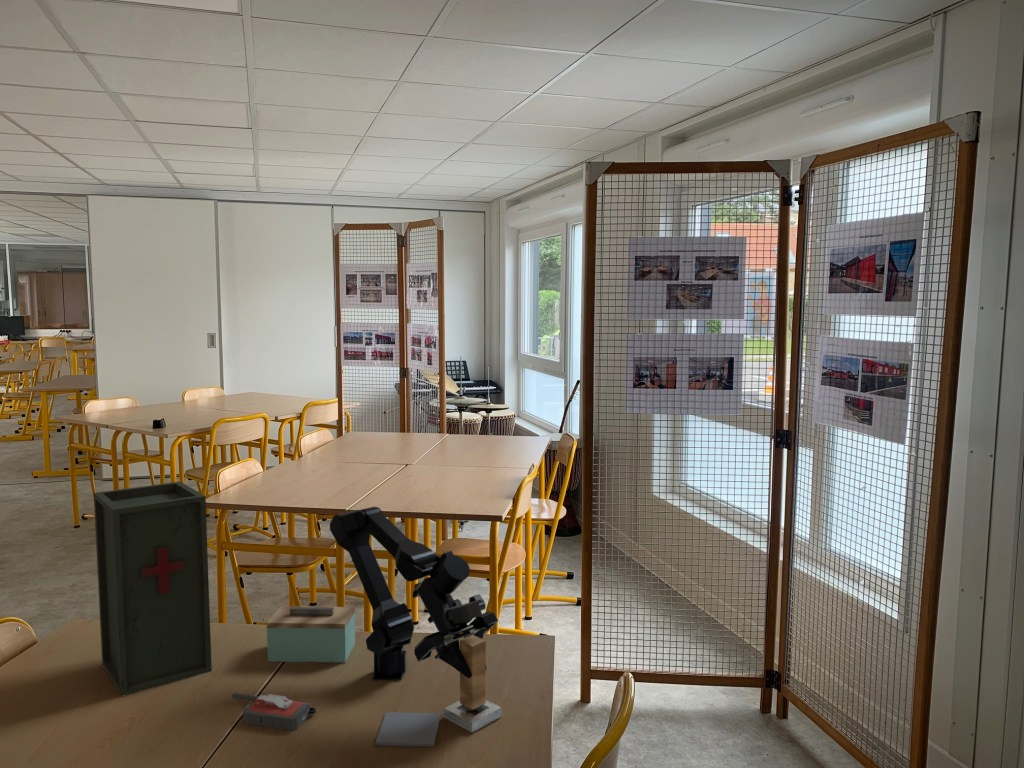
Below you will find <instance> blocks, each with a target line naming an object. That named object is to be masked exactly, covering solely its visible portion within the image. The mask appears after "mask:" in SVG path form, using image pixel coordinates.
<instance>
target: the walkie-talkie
mask: <svg viewBox="0 0 1024 768" xmlns="http://www.w3.org/2000/svg"><path fill="white" fill-rule="evenodd" d="M231 698H232V699H237V700H244V701H250V702H251V703H250V704H249V705H248V706H245V708H243V711H242V717H243V722H244V724H247V725H253V726H258V727H259V726H260V727H267V728H272V729H279V730H280V729H281V730H287V731H291V732H294V731H296V730H298V729H299V728H301V726H302V724H304V722H306V721H307V719H309V718H310V717H311V715H314V714H317V708H315V707H311V705H310V703H309V702H302V701H297V700H292V699H289V698H287V696H284V695H278V694H272V693H268V694H260V695H259V696H257V695H251V694H246V693H245V694H244V693H238V692H233V693H232V694H231Z"/></svg>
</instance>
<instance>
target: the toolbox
mask: <svg viewBox="0 0 1024 768" xmlns="http://www.w3.org/2000/svg"><path fill="white" fill-rule="evenodd" d="M355 608H356V607H355V606H307V605H306V606H305V605H304V606H302V605H301V606H300V605H299V606H297V605H292V606H290V605H281V606H279V607H278V609H277V610H276V611H275V613H274V614H273V615H272V616H271V617H270V619H269V620H268V621H267V622H266V638H267V639H266V643H267V647H266V648H267V662H277V661H281V662H280V663H282V662H283V663H284V662H285V663H286V662H287V663H289V662H290V663H291V662H293V663H298V662H299V663H311V662H310V661H314V662H313V663H330V662H329V661H332V662H331V663H346V662H347V661H348V659H349V657H348V656H350V655H351V653H352V651H353V649H354V647H355V645H356V614H355V613H356V612H355ZM349 654H350V655H349ZM347 658H348V659H347ZM346 660H347V661H346ZM307 661H309V662H307ZM315 661H316V662H315ZM317 661H318V662H317Z"/></svg>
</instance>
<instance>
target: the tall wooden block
mask: <svg viewBox="0 0 1024 768" xmlns="http://www.w3.org/2000/svg"><path fill="white" fill-rule="evenodd" d="M486 641H487V640H485V639H481V638H479V637H476V636H474V635H472V636H470V637H467V638H465V639H464V638H462V639H459V647H460V651H461V653H462V655H463V657H464V659H465V661H466V663H467V665H468V667H469V669H470V671H471V673H472V677H470V678H467V677H466V676H464V675H463V674H462V673H460V672H459V701H460V704H462V705H464V706H466V707H468V708H470V709H471V711H473V710H475V708H477V707H479V706H481V705H483V704H485V703H486V700H487V697H486V696H487V695H486V693H487V692H486V690H487V689H486V688H487V687H486V685H487V684H486V682H487V678H486V672H487V671H486V670H487V669H486V668H487V663H486V661H487V659H486V658H487V655H486V654H487V653H486V651H487V650H486V649H487V647H486V646H487V645H486V644H487V642H486Z"/></svg>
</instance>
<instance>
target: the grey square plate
mask: <svg viewBox="0 0 1024 768" xmlns="http://www.w3.org/2000/svg"><path fill="white" fill-rule="evenodd" d="M440 720H441V712H396V711H395V712H393V711H389V712H387V711H386V712H385V714H384V716H383V719H382V723H381V725H380V728H379V731H378V733H377V736H376V739H375V743H374V745H375V746H379V747H380V746H386V747H389V746H390V747H435V742H436V739H437V734H438V729H439V725H440Z"/></svg>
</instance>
